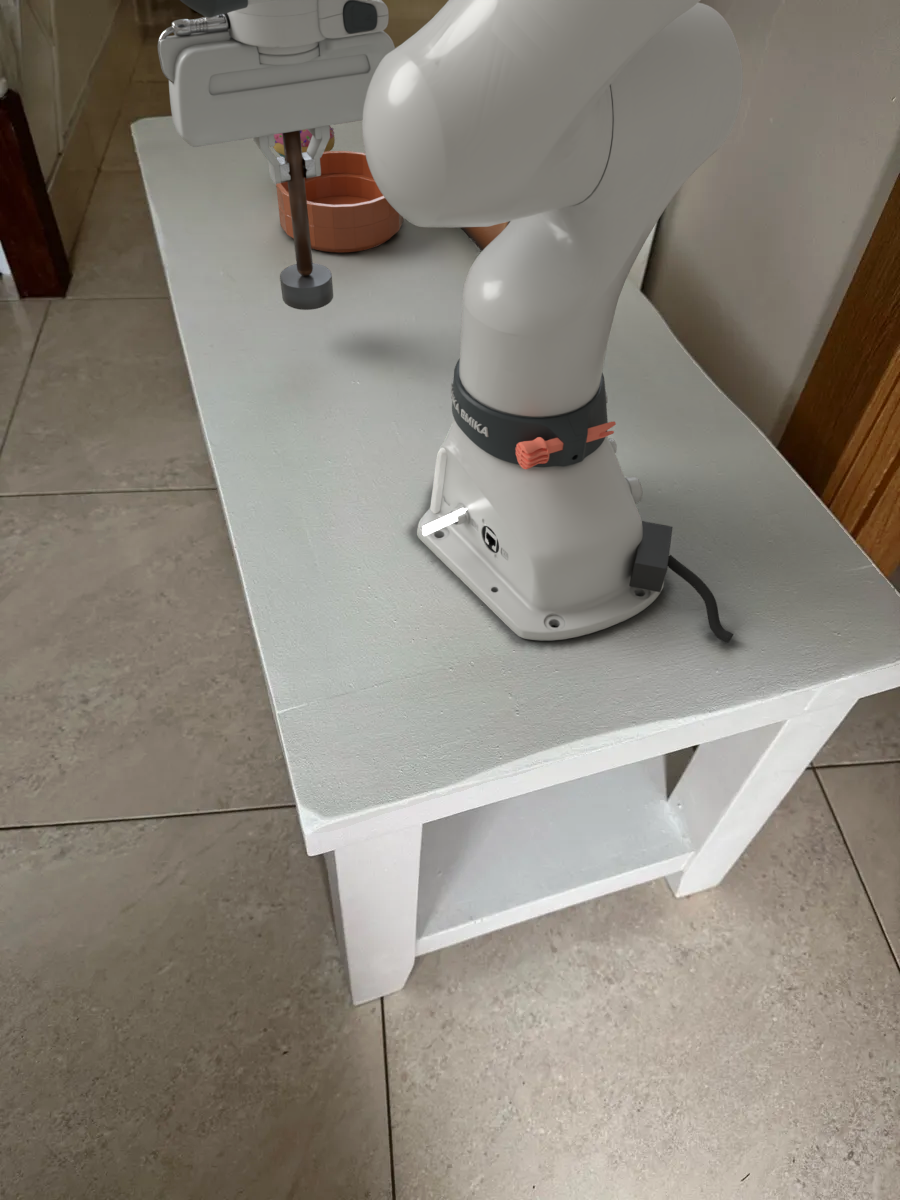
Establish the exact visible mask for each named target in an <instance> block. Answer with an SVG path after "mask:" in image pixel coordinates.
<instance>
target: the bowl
mask: <svg viewBox="0 0 900 1200" xmlns="http://www.w3.org/2000/svg"><path fill="white" fill-rule="evenodd" d="M320 166H321V176H317V177H312V178H305V177H304V178H305V189H306V199H307V210H308V220H309V230H310V241H311V250H315V251H316V250H317V251H321V252H326V253H327V252H329V253H355V252H361V251H362V252H363V251H366V250H369V249H373V248H376V247H378V246H380V245H383V244H384V243H386V242H388V241H389V240H390V239H391V238H392V237H393V236H394V235H396V234H397V233H398V232H400V229H401V227H402V225H403V223H404V217H402V216H401V215H400V214H399V213H398V212H397V211H396V210H395V209H394V208H393V207H392V206H391V205H390V204H389V203H388V201H387V200H386V199H385V197H384V196H383V194H382V193H381V191H380V190H379V188H378V186H377V184H376V182H375V180H374V178H373V176H372V174H371V172H370V169H369V166H368V163H367V159H366V155H365V152H360V151H352V150H351V151H350V150H330V151H327V152H326V151H325V152H323V154H322V157H321V158H320ZM275 187H276V188H275V189H276V196H277V207H278V214H279V224H280V227H281V228H282V230H283V231H284V232H285V234H286V235H287V236H289V237H290V238H291V239H292V240H294V236H293V227H292V218H291V209H290V200H289V191H288V182H283V183H279V184H275Z"/></svg>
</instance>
